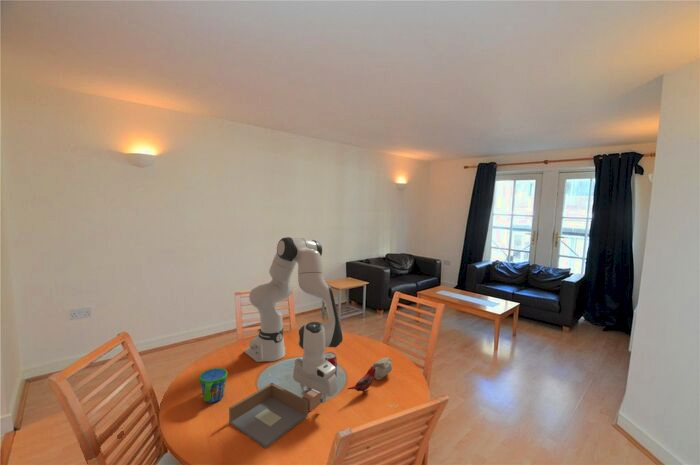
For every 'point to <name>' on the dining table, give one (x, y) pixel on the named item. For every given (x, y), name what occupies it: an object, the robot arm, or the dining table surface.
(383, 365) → the fossil replica
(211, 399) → the snack cup
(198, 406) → the dining table surface
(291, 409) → the tray
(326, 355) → the soda can
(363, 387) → the decorative bird figurine
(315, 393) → the block
